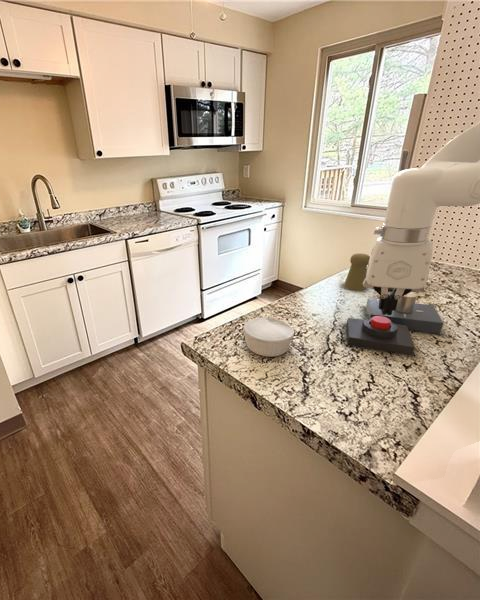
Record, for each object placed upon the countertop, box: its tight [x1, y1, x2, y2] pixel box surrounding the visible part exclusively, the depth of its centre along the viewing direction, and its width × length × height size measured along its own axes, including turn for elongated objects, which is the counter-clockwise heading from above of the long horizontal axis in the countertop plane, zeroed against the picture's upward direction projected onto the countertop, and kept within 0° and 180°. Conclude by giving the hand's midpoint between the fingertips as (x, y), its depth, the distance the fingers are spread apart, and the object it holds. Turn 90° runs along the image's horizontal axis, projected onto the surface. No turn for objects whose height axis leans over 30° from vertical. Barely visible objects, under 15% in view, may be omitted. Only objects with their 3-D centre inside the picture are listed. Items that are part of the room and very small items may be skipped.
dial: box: [395, 292, 418, 313], centre depth 78 cm, size 4×4×5 cm
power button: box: [370, 316, 391, 329], centre depth 72 cm, size 4×4×2 cm
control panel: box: [365, 298, 444, 335], centre depth 80 cm, size 14×10×3 cm
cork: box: [343, 253, 371, 292], centre depth 98 cm, size 6×6×11 cm
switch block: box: [345, 317, 416, 356], centre depth 73 cm, size 12×10×4 cm
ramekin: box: [242, 316, 295, 358], centre depth 75 cm, size 11×11×5 cm
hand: (385, 312), depth 71 cm, fingers closed
